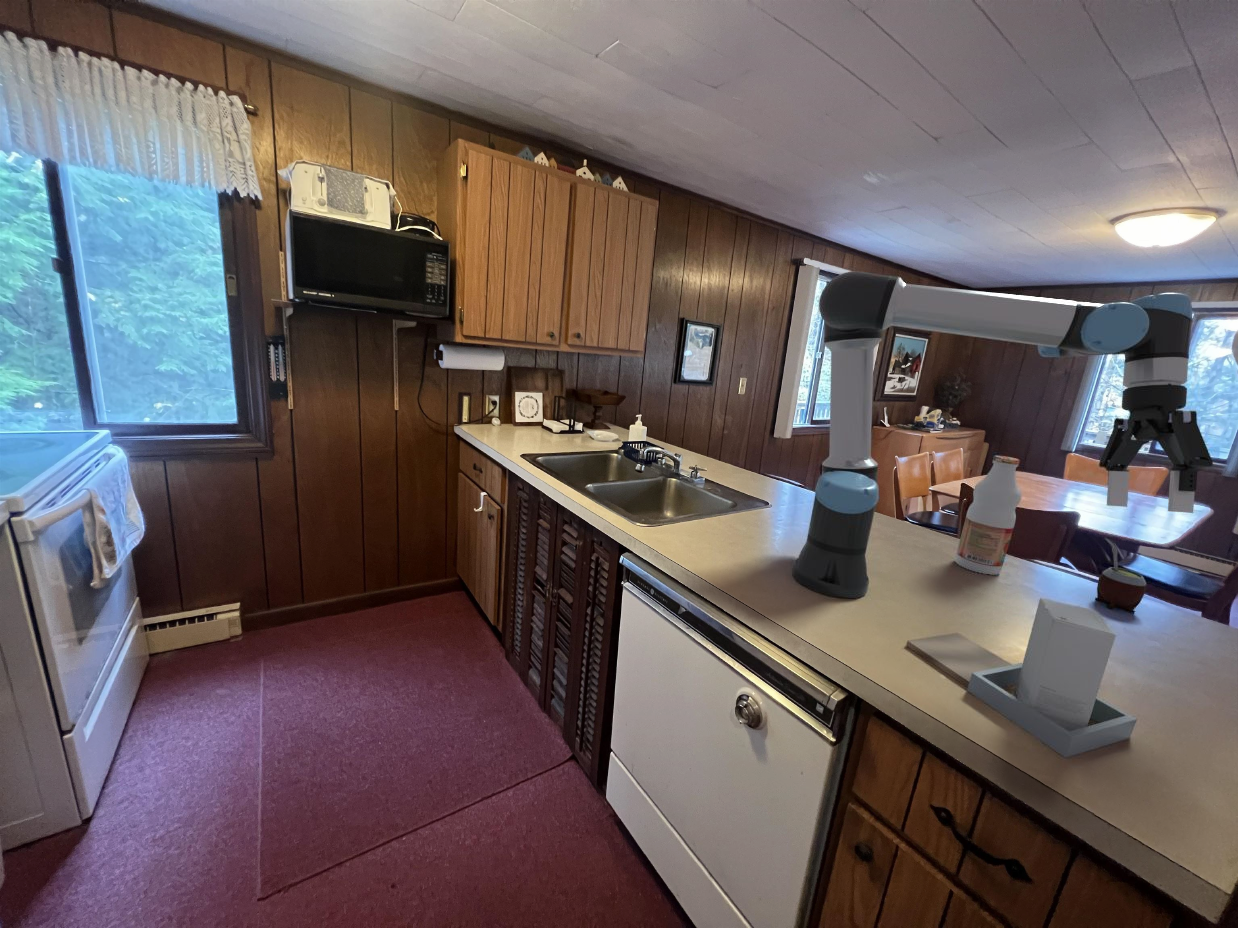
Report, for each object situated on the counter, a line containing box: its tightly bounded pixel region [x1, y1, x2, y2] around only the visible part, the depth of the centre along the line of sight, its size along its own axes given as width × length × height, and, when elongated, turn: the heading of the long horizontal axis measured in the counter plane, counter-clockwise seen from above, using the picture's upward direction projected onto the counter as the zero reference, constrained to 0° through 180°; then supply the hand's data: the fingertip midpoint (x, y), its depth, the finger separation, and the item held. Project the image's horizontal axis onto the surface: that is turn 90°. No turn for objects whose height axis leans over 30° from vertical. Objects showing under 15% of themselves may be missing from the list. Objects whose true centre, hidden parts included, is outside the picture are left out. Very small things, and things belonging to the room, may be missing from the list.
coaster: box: [905, 632, 1013, 688], centre depth 80 cm, size 11×12×1 cm
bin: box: [966, 662, 1138, 759], centre depth 68 cm, size 13×14×3 cm
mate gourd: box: [1094, 537, 1147, 614], centre depth 103 cm, size 8×8×15 cm
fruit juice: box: [954, 455, 1022, 576], centre depth 117 cm, size 9×9×28 cm
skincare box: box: [1014, 597, 1117, 732], centre depth 67 cm, size 8×7×16 cm
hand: (1146, 509), depth 84 cm, fingers open, 13 cm apart
